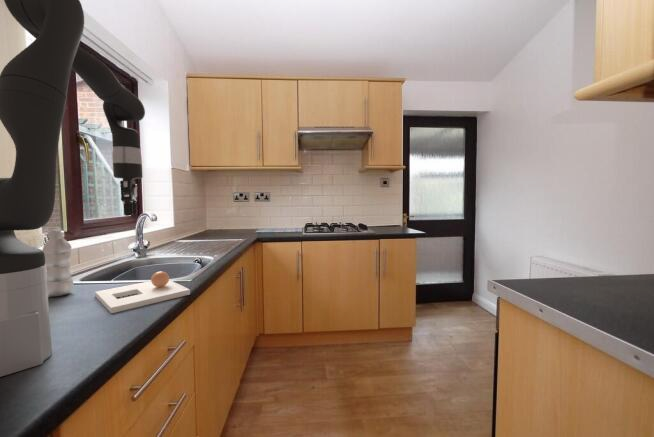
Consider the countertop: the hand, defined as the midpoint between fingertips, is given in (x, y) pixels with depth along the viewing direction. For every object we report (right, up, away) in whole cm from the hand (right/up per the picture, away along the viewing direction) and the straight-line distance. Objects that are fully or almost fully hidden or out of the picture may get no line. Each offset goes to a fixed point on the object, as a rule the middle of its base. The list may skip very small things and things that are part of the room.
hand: (130, 214), depth 93 cm
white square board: (+6, -25, -3) cm, 26 cm away
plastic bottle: (-21, -25, -2) cm, 33 cm away
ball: (+9, -21, +1) cm, 22 cm away
